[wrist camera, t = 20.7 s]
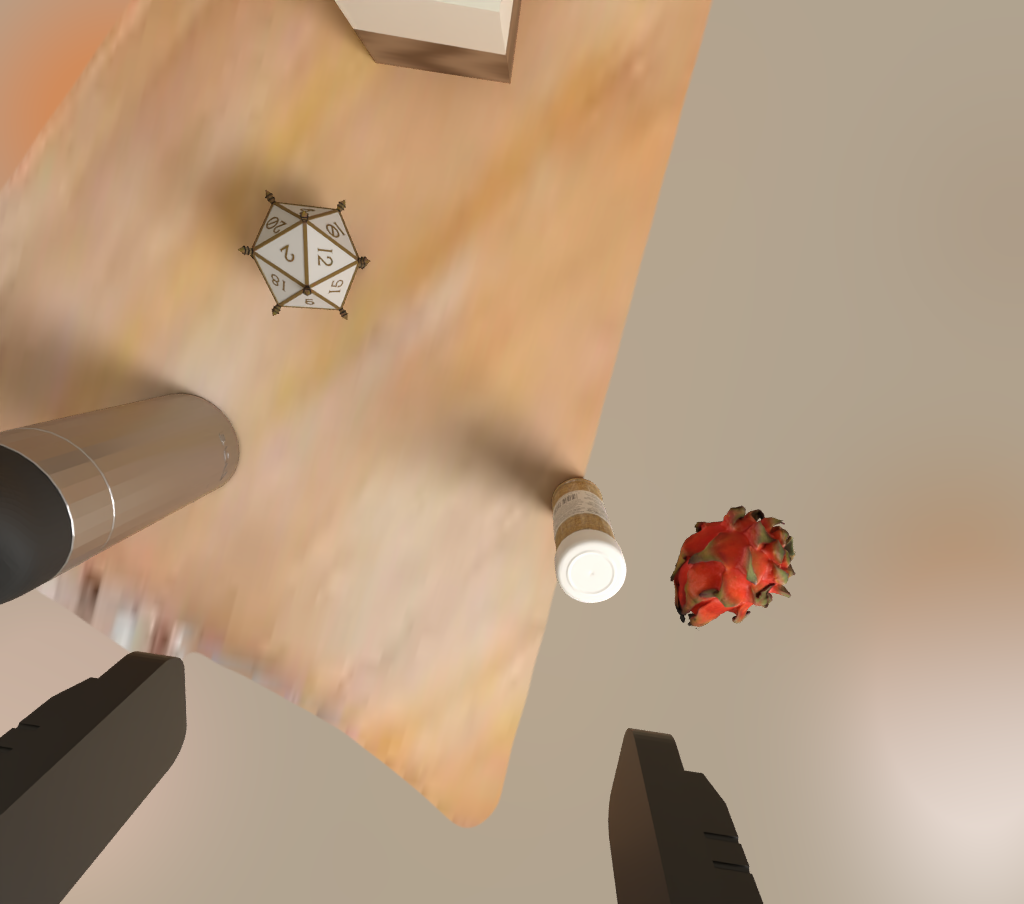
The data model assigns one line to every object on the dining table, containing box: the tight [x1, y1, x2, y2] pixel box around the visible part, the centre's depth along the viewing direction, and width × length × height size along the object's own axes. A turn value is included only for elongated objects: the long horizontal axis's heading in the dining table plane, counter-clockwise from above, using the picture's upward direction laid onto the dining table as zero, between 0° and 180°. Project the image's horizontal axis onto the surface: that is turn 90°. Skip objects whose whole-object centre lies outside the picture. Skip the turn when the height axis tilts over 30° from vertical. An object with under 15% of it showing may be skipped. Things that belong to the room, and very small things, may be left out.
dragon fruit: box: [671, 506, 795, 627], centre depth 43 cm, size 8×8×12 cm
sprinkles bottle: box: [552, 478, 626, 603], centre depth 40 cm, size 5×5×13 cm
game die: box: [238, 191, 370, 320], centre depth 38 cm, size 9×8×10 cm
